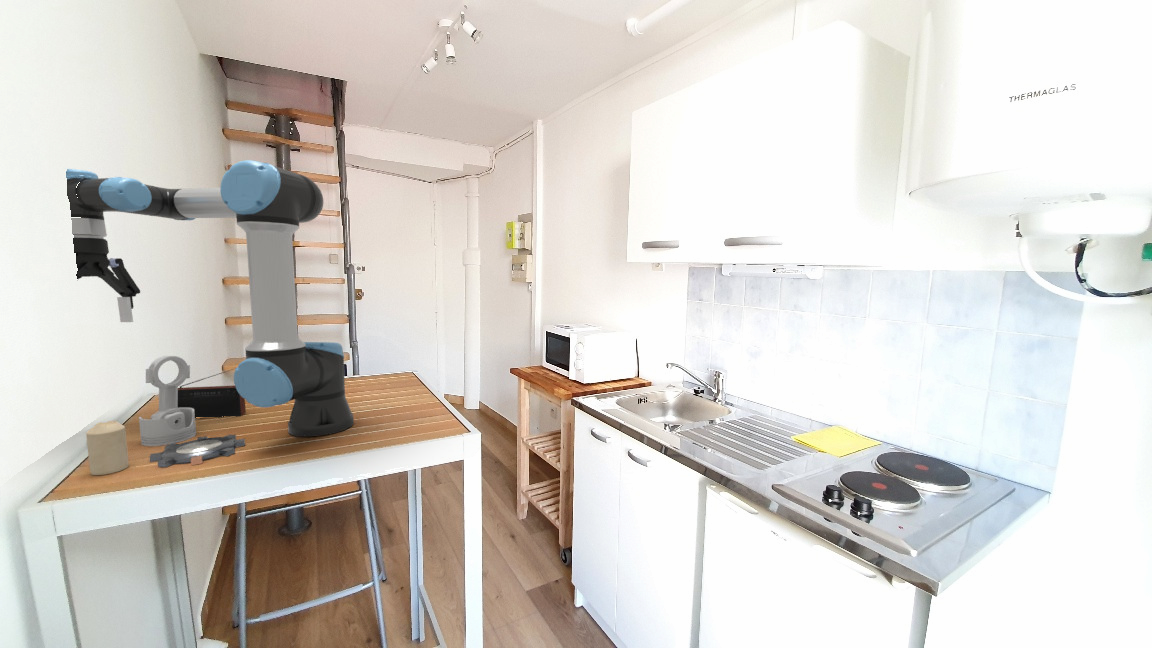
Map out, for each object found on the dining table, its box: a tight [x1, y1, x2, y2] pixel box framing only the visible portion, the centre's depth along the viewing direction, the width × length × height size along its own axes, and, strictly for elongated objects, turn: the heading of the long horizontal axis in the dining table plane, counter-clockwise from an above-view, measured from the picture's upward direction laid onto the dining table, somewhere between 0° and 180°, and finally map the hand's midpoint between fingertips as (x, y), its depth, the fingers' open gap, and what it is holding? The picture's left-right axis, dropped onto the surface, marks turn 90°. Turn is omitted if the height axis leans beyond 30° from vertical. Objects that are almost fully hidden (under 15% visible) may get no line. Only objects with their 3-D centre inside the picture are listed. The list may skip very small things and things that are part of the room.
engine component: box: [138, 355, 197, 447], centre depth 109 cm, size 11×20×10 cm
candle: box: [85, 420, 130, 476], centre depth 91 cm, size 6×6×10 cm
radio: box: [178, 367, 247, 418], centre depth 126 cm, size 19×3×15 cm, turn 103°
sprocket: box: [149, 434, 246, 468], centre depth 101 cm, size 16×16×1 cm
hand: (97, 325), depth 109 cm, fingers open, 13 cm apart
